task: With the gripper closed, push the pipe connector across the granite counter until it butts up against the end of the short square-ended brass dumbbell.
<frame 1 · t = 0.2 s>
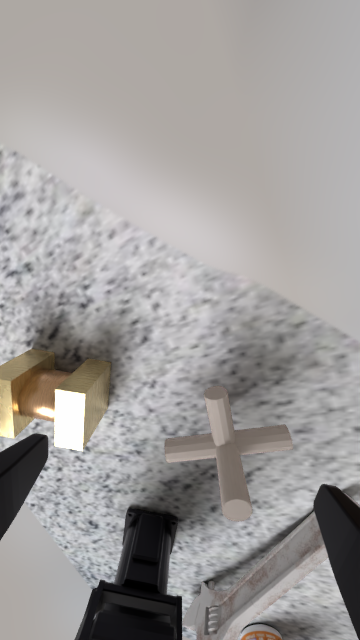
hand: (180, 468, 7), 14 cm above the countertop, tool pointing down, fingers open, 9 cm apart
wrench: (254, 549, 29), on the countertop
pipe connector: (218, 404, 23), on the countertop
pill bottle: (259, 632, 33), on the countertop
square-ended brass dumbbell: (70, 379, 23), on the countertop
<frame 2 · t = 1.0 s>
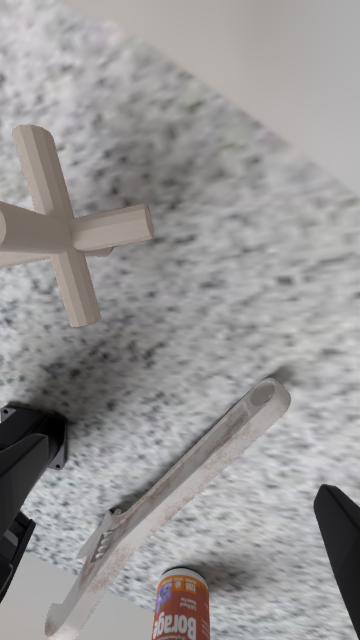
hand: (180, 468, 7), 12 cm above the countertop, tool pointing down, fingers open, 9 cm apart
wrench: (167, 466, 23), on the countertop
pipe connector: (102, 245, 17), on the countertop
pill bottle: (183, 580, 27), on the countertop
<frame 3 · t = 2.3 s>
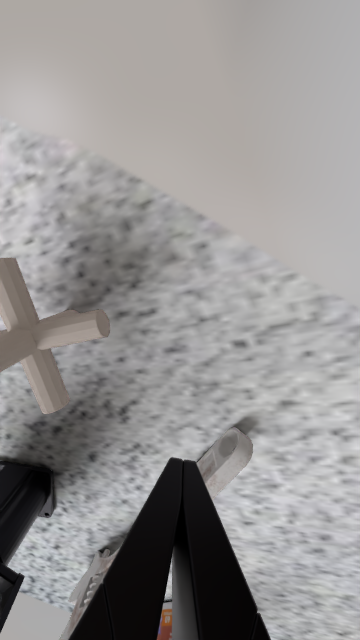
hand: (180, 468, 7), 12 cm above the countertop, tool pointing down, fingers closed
wrench: (150, 507, 24), on the countertop
pipe connector: (73, 319, 19), on the countertop
pill bottle: (174, 612, 28), on the countertop
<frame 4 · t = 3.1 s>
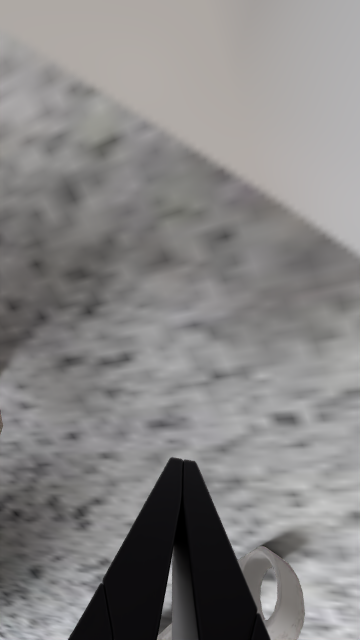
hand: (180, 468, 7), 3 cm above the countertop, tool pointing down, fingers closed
wrench: (128, 635, 16), on the countertop
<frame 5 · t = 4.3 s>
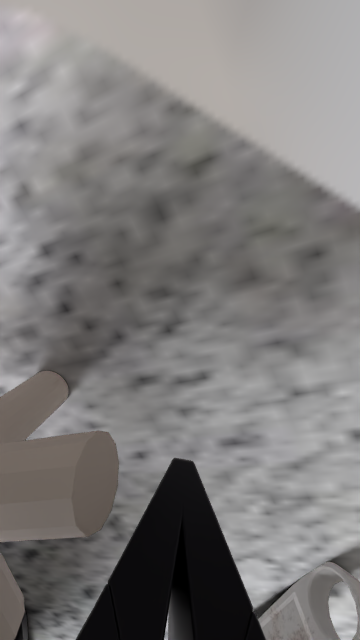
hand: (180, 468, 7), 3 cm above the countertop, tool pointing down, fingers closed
pipe connector: (52, 386, 10), on the countertop, touching gripper
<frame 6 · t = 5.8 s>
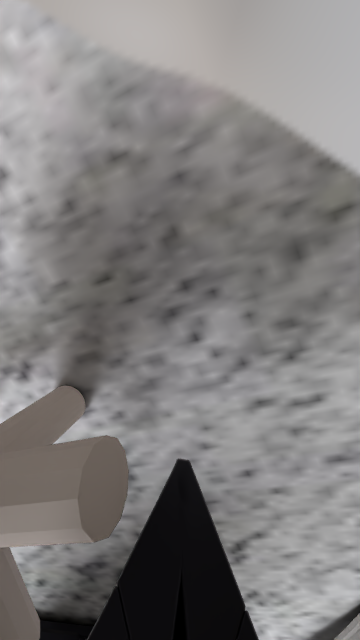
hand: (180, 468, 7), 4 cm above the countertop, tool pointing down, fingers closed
pipe connector: (71, 401, 11), on the countertop, touching gripper
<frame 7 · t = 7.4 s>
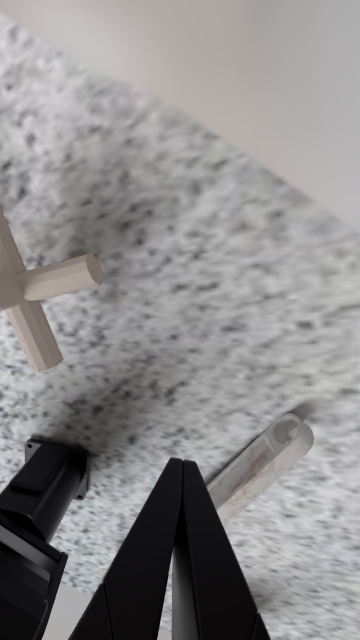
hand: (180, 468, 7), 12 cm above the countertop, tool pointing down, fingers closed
wrench: (187, 494, 24), on the countertop
pipe connector: (66, 282, 18), on the countertop
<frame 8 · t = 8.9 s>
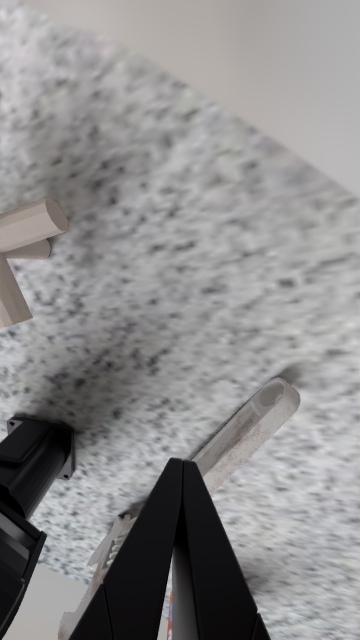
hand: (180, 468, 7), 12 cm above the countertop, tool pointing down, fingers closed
wrench: (176, 469, 23), on the countertop
pipe connector: (41, 247, 18), on the countertop
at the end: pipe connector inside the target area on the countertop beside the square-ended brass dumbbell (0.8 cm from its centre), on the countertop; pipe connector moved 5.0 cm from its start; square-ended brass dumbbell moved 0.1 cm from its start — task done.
